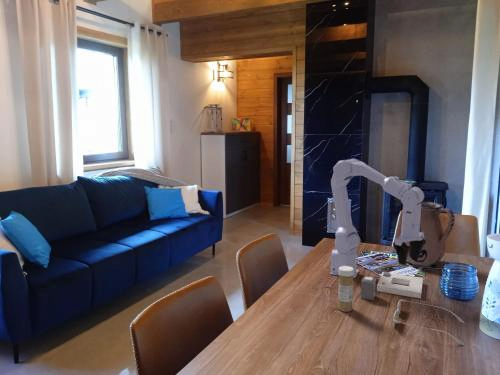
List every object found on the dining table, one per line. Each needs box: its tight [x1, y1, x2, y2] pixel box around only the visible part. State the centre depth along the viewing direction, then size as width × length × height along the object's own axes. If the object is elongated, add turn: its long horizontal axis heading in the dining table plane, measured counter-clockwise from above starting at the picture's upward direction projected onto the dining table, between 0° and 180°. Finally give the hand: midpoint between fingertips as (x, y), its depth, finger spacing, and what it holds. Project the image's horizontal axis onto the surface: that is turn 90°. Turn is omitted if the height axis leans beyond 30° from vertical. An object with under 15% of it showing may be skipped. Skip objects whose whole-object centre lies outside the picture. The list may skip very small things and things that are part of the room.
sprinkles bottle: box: [337, 266, 354, 313], centre depth 122 cm, size 5×5×14 cm
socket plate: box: [376, 271, 424, 299], centre depth 139 cm, size 14×14×3 cm
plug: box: [360, 276, 377, 301], centre depth 131 cm, size 4×4×7 cm
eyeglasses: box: [392, 299, 465, 346], centre depth 112 cm, size 15×18×4 cm
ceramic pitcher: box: [406, 201, 456, 267], centre depth 160 cm, size 18×21×25 cm
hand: (408, 261), depth 136 cm, fingers open, 7 cm apart
